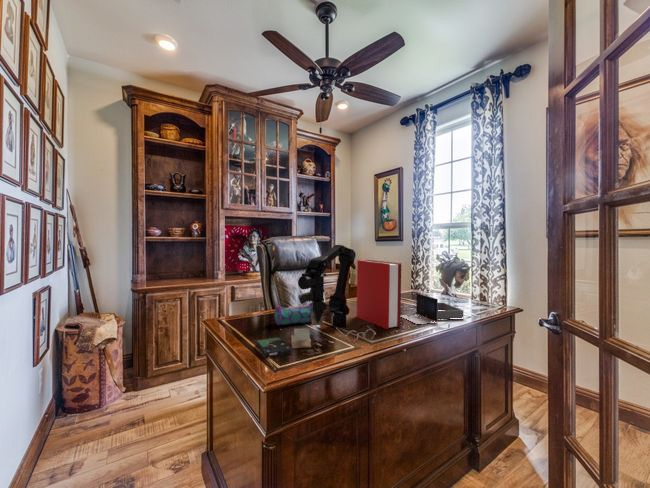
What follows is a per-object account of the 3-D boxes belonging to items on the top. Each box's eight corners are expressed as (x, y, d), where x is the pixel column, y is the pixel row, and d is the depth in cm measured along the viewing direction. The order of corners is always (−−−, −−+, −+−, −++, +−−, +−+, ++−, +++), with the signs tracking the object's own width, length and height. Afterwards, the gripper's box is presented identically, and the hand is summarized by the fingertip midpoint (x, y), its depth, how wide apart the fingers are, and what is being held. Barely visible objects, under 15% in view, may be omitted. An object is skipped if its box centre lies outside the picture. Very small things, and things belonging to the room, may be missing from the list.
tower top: (308, 335, 127) (308, 328, 127) (309, 340, 121) (309, 332, 121) (294, 335, 126) (294, 328, 126) (294, 340, 120) (294, 333, 120)
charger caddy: (443, 310, 185) (443, 302, 185) (463, 319, 164) (463, 310, 164) (416, 311, 182) (416, 303, 182) (434, 320, 162) (434, 311, 162)
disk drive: (292, 355, 112) (280, 342, 126) (292, 348, 112) (280, 336, 125) (265, 360, 108) (255, 346, 121) (265, 352, 108) (255, 339, 121)
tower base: (308, 341, 127) (308, 334, 127) (310, 348, 120) (310, 340, 120) (291, 342, 126) (291, 335, 126) (292, 349, 119) (292, 341, 119)
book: (400, 327, 148) (401, 263, 148) (388, 329, 144) (389, 263, 144) (366, 314, 172) (367, 259, 172) (355, 316, 168) (355, 260, 168)
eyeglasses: (344, 343, 126) (344, 331, 126) (331, 330, 144) (331, 319, 144) (378, 340, 130) (379, 329, 130) (362, 328, 148) (362, 318, 148)
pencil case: (310, 319, 162) (310, 301, 162) (317, 323, 154) (317, 304, 154) (273, 323, 152) (273, 305, 152) (279, 328, 145) (279, 308, 144)
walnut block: (321, 322, 138) (321, 309, 138) (322, 325, 133) (322, 311, 133) (311, 322, 137) (311, 309, 137) (312, 325, 133) (312, 311, 132)
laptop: (398, 316, 169) (398, 294, 169) (416, 315, 173) (417, 293, 173) (417, 325, 152) (417, 300, 152) (437, 323, 156) (438, 299, 156)
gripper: (298, 283, 143) (298, 316, 143) (301, 290, 124) (300, 327, 125) (321, 283, 145) (320, 315, 145) (327, 290, 126) (326, 326, 126)
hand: (317, 320), depth 135 cm, fingers closed on walnut block, 4 cm apart
